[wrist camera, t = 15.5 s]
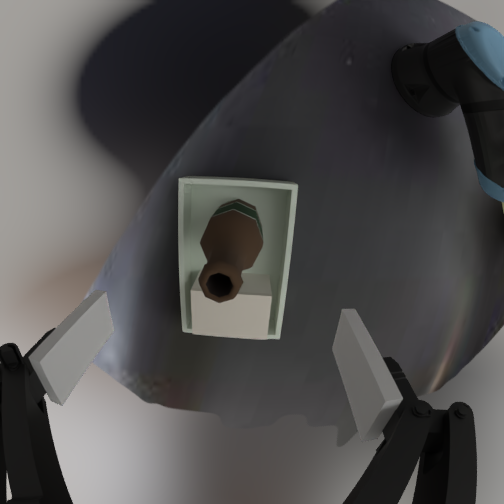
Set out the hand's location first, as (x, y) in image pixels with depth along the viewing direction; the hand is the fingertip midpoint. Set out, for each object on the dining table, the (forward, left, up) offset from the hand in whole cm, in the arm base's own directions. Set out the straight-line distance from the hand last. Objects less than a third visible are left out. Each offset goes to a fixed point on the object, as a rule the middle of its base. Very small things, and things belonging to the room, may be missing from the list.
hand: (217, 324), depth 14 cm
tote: (+1, +7, -33) cm, 34 cm away
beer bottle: (+1, +1, -32) cm, 32 cm away
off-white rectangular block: (+1, +14, -32) cm, 35 cm away
